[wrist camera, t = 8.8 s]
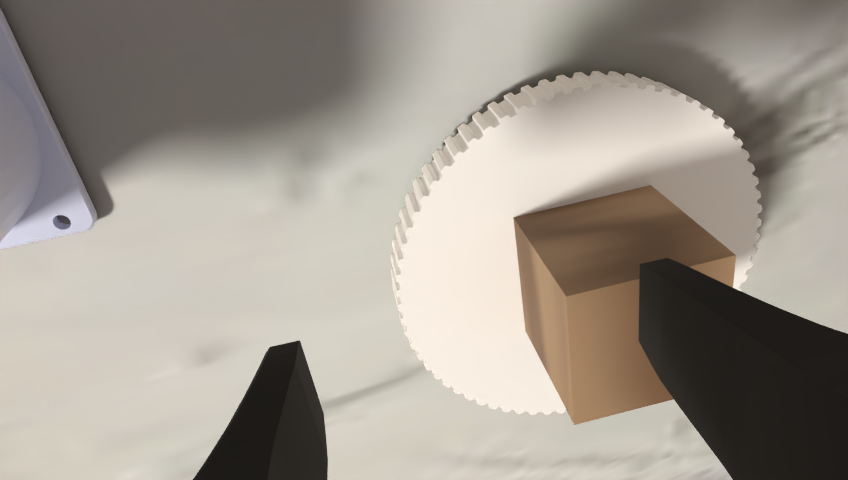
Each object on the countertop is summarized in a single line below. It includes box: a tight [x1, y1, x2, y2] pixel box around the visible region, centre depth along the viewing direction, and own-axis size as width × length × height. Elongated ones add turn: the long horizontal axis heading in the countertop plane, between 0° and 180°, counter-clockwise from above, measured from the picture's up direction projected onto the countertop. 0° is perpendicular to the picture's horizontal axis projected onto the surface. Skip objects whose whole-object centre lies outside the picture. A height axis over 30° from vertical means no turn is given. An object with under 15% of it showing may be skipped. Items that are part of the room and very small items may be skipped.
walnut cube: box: [513, 185, 736, 425], centre depth 21 cm, size 5×5×5 cm
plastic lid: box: [391, 71, 762, 415], centre depth 24 cm, size 14×14×2 cm
